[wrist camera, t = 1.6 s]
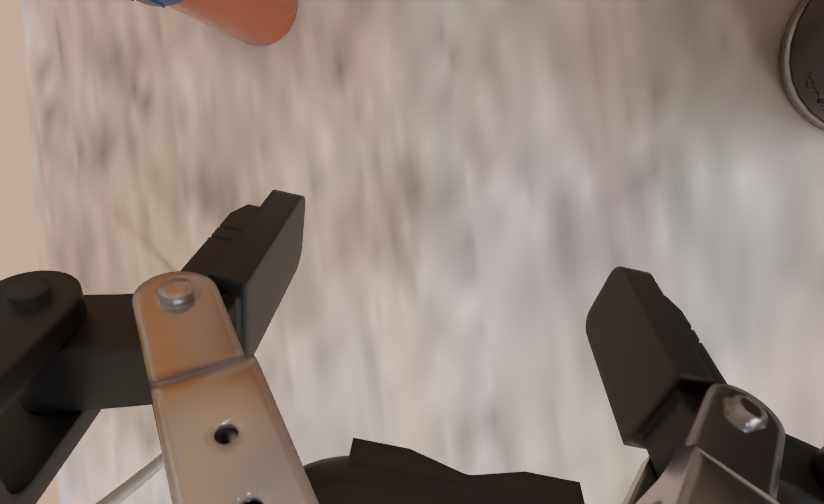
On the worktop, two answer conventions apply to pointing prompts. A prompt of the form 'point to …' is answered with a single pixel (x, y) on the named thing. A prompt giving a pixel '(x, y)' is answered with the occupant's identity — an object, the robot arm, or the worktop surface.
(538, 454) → the worktop surface
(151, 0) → the lid
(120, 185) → the worktop surface
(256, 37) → the jar
